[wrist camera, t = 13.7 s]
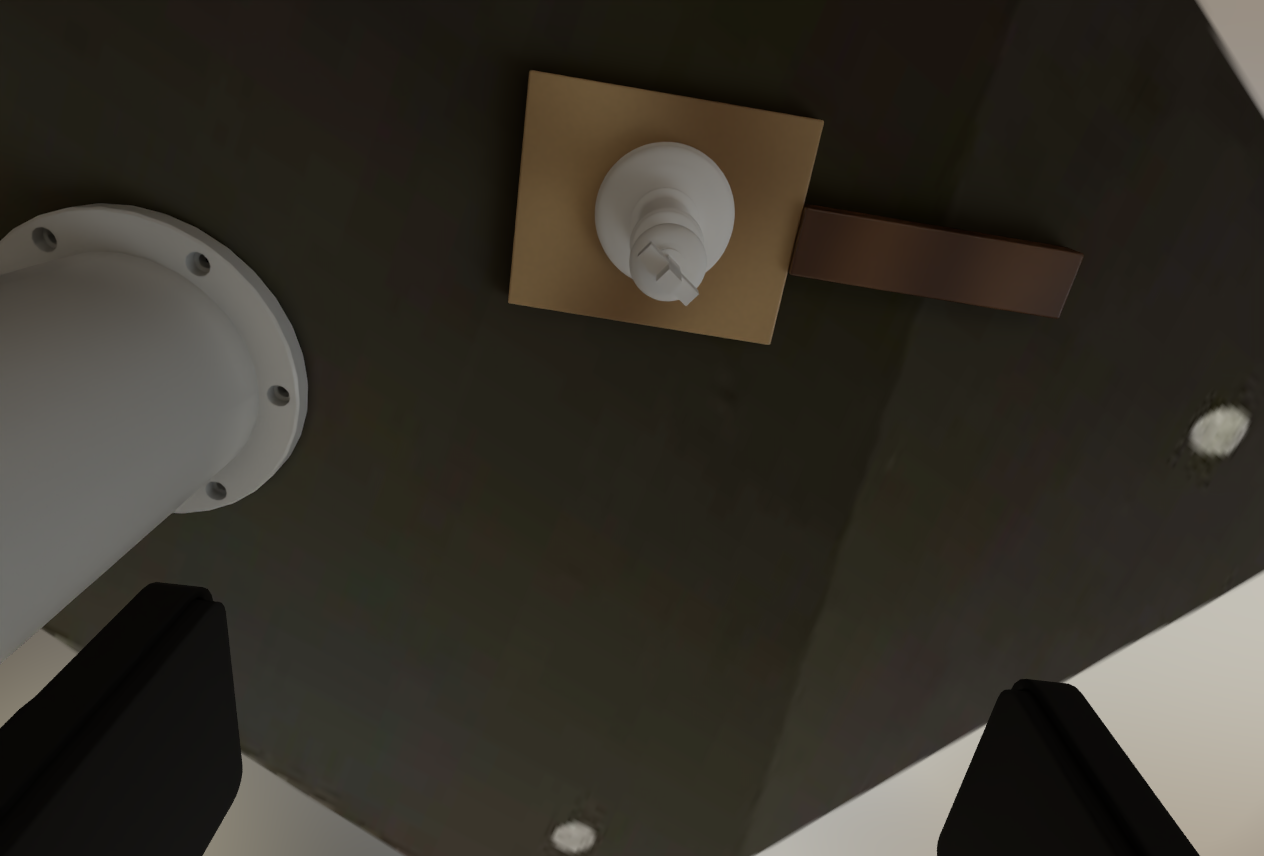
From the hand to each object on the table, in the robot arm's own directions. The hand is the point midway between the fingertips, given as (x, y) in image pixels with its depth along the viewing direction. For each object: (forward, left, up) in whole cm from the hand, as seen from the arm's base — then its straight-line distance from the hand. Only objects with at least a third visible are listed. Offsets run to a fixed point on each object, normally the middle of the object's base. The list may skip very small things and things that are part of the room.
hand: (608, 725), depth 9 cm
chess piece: (0, +3, -21) cm, 21 cm away
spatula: (+5, +3, -22) cm, 22 cm away
